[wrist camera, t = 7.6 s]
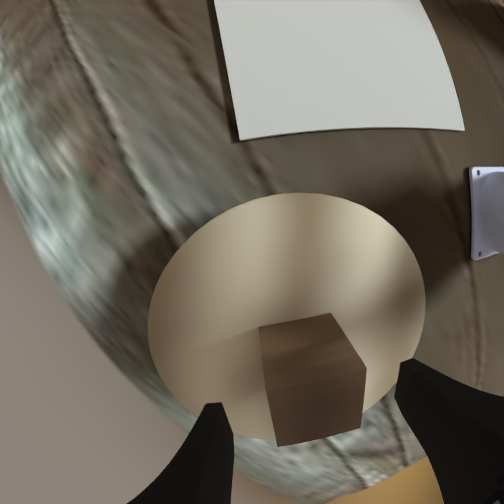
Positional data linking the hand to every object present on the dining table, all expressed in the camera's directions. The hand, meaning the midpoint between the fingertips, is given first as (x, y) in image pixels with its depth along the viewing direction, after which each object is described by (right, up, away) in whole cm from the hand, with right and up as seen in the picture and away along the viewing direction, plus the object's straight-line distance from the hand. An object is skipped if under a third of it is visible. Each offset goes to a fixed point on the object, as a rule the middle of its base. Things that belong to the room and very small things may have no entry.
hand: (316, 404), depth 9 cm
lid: (0, +1, +4) cm, 5 cm away
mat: (+4, +23, +4) cm, 24 cm away
